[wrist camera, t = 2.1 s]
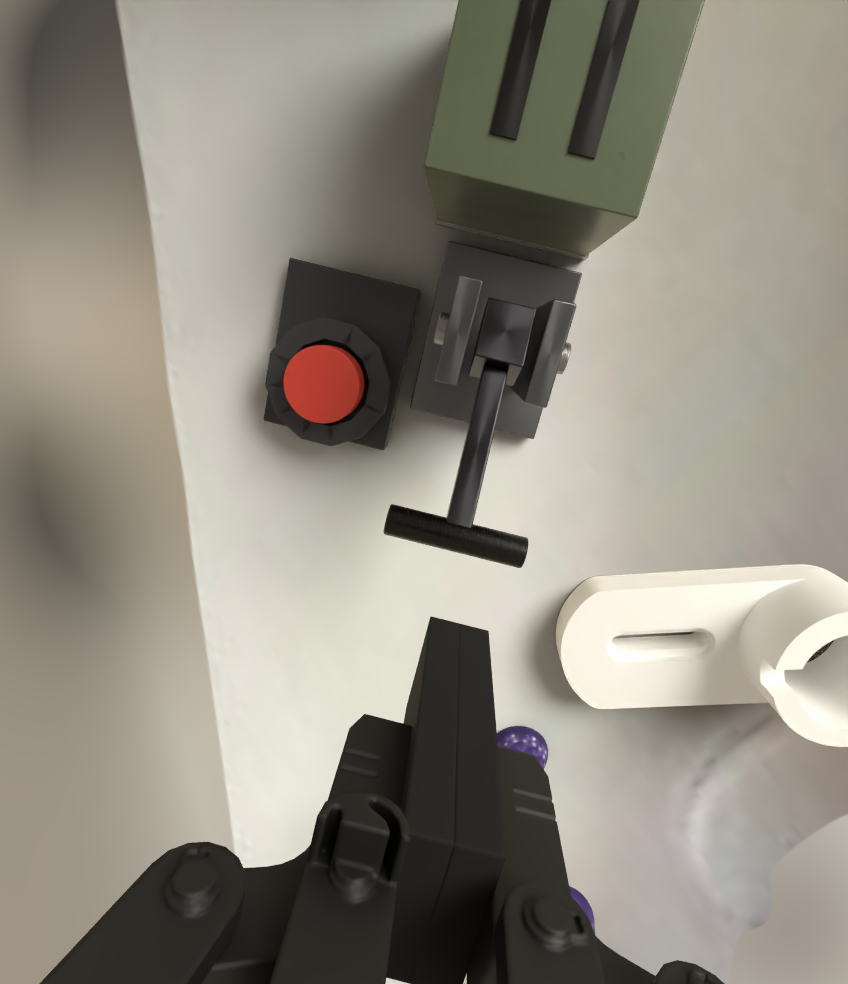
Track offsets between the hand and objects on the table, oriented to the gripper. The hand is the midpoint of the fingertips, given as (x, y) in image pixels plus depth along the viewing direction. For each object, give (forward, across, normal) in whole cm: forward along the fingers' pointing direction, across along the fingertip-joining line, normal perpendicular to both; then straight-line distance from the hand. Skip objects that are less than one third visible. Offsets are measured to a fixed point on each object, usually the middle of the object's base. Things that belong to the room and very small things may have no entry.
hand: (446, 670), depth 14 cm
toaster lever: (+13, 0, +4) cm, 14 cm away
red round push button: (+21, -9, +4) cm, 23 cm away
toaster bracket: (+24, 0, +8) cm, 25 cm away
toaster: (+24, 0, +20) cm, 31 cm away
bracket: (+24, +19, -7) cm, 31 cm away
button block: (+24, -9, +5) cm, 26 cm away
